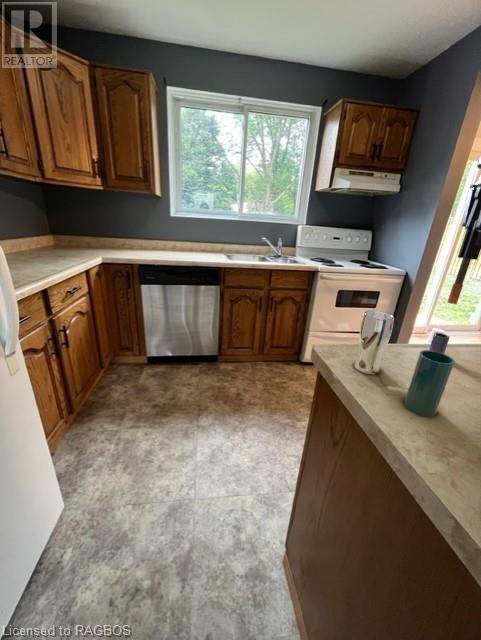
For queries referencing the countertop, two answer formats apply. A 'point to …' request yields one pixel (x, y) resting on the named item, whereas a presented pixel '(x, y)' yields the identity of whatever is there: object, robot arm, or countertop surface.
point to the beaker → (428, 382)
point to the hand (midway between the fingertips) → (467, 258)
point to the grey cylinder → (439, 342)
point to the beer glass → (373, 340)
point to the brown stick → (459, 280)
